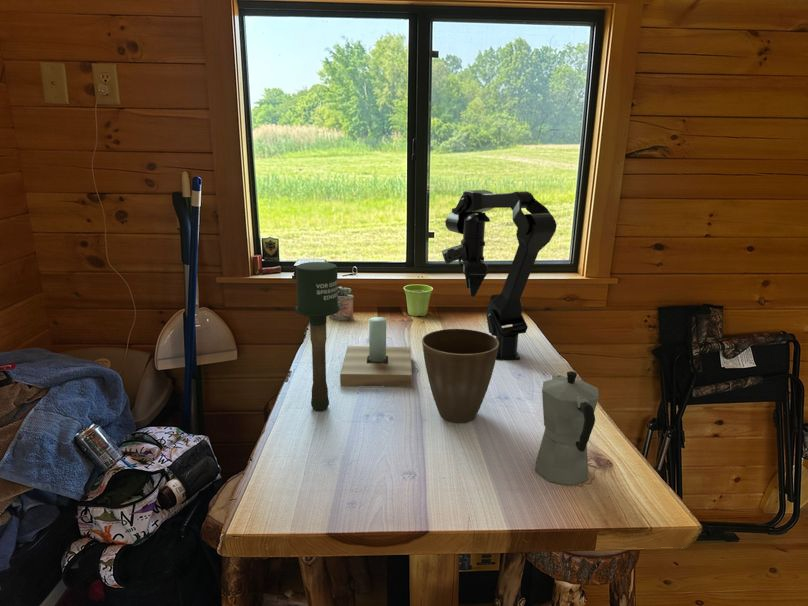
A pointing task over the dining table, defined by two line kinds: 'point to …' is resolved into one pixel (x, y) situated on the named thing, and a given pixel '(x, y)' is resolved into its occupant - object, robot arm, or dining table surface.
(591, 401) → the coffeepot
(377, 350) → the peg
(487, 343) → the plant pot
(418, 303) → the plant pot
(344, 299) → the lighter
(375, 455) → the dining table surface
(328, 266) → the potato masher grenade
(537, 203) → the robot arm
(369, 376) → the board
